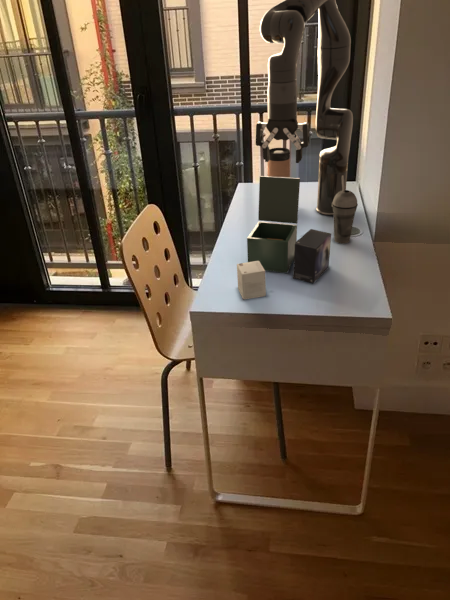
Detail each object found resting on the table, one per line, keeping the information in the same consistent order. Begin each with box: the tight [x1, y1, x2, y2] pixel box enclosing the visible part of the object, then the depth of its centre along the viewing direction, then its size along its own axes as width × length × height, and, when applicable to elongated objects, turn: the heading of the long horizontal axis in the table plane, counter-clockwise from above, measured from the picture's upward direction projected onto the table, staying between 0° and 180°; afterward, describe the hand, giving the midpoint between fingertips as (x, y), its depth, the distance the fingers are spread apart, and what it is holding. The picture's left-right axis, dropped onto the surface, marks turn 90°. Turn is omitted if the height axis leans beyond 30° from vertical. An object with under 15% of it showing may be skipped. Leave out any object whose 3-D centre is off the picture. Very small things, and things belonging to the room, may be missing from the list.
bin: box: [246, 221, 298, 274], centre depth 142 cm, size 12×11×9 cm
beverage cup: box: [332, 176, 359, 245], centre depth 148 cm, size 7×7×20 cm
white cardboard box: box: [236, 261, 267, 301], centre depth 128 cm, size 6×6×7 cm
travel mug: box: [266, 147, 291, 178], centre depth 173 cm, size 8×8×20 cm
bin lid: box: [257, 175, 301, 225], centre depth 141 cm, size 12×11×1 cm
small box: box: [292, 228, 332, 284], centre depth 134 cm, size 11×6×10 cm, turn 148°
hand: (282, 161), depth 139 cm, fingers open, 8 cm apart
